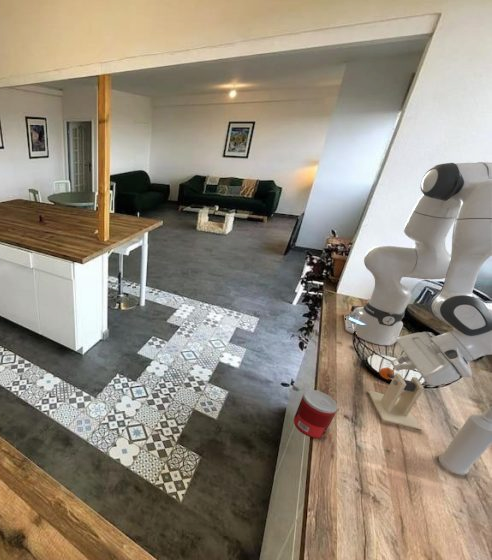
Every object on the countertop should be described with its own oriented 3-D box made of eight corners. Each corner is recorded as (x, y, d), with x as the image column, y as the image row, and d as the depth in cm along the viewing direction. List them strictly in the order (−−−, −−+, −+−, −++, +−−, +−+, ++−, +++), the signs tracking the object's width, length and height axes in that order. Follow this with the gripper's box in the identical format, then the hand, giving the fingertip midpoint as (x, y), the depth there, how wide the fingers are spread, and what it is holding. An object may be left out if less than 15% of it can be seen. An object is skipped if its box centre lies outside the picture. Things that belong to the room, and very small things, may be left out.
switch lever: (376, 375, 103) (378, 365, 103) (389, 378, 102) (391, 367, 102) (400, 391, 90) (403, 379, 90) (416, 394, 89) (419, 382, 88)
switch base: (366, 393, 102) (382, 363, 96) (400, 401, 99) (419, 371, 93) (380, 422, 92) (399, 390, 86) (419, 432, 89) (441, 400, 83)
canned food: (327, 443, 86) (341, 415, 81) (295, 434, 88) (306, 406, 83) (320, 421, 92) (333, 394, 87) (290, 413, 95) (301, 386, 90)
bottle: (471, 479, 77) (533, 407, 66) (446, 475, 78) (504, 403, 67) (454, 459, 81) (510, 389, 70) (431, 456, 82) (483, 386, 71)
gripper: (424, 323, 100) (375, 340, 108) (462, 363, 83) (401, 380, 91) (435, 337, 101) (386, 353, 108) (475, 380, 84) (413, 395, 91)
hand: (393, 366), depth 99 cm, fingers closed
